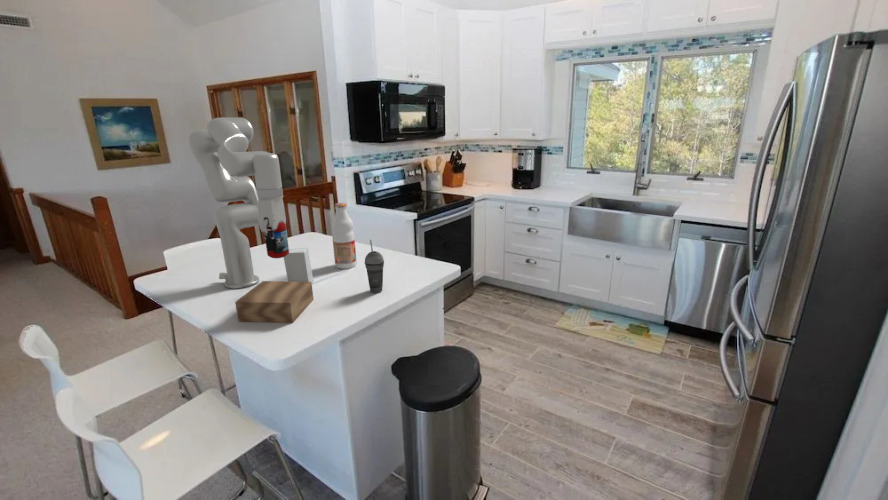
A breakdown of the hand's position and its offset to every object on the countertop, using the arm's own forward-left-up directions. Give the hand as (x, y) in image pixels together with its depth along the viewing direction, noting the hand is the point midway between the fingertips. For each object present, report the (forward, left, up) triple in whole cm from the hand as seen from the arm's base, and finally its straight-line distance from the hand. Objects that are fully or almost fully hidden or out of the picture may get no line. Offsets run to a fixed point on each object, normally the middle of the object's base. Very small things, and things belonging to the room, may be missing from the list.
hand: (277, 246), depth 135 cm
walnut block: (-2, -2, -22) cm, 22 cm away
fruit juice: (+8, +44, -23) cm, 51 cm away
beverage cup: (+28, +16, -23) cm, 39 cm away
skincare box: (-3, +20, -23) cm, 31 cm away
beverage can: (0, 0, -3) cm, 3 cm away
